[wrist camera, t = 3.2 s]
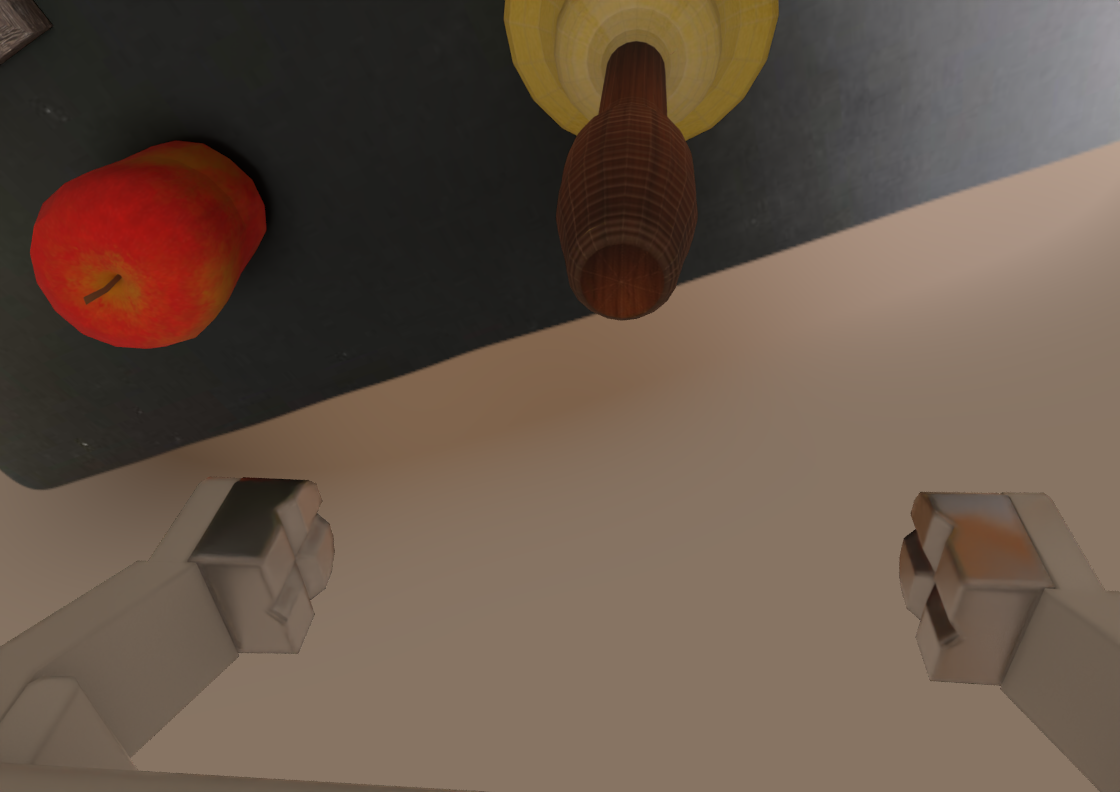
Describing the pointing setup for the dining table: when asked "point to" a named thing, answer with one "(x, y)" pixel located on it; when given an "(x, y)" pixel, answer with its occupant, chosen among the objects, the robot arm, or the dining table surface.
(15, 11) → the picture frame
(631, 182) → the handbell
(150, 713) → the robot arm
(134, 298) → the apple
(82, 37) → the dining table surface
